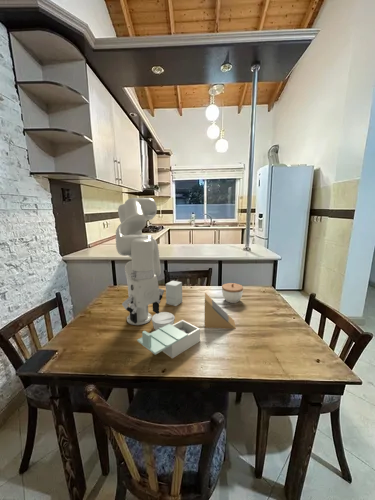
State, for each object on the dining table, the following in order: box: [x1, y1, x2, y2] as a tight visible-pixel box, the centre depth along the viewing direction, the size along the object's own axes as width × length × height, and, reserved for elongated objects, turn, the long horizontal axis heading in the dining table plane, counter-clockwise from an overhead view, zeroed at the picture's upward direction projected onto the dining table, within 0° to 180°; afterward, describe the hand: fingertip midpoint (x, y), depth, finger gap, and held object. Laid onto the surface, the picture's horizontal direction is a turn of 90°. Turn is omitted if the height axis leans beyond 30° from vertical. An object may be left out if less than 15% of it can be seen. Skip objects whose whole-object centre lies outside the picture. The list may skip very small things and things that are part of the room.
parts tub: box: [162, 319, 201, 359], centre depth 99 cm, size 11×16×6 cm
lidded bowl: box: [221, 282, 244, 304], centre depth 141 cm, size 13×13×11 cm
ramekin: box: [151, 311, 175, 331], centre depth 112 cm, size 11×11×5 cm
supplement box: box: [165, 280, 183, 307], centre depth 138 cm, size 7×7×13 cm
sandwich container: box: [204, 292, 237, 330], centre depth 114 cm, size 9×15×15 cm, turn 85°
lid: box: [136, 324, 188, 356], centre depth 92 cm, size 12×17×6 cm
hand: (145, 317), depth 86 cm, fingers open, 9 cm apart
